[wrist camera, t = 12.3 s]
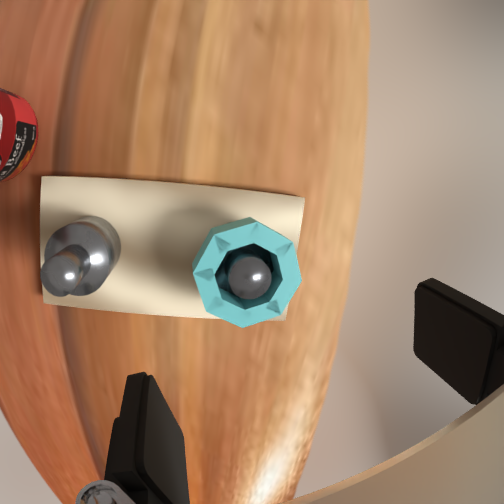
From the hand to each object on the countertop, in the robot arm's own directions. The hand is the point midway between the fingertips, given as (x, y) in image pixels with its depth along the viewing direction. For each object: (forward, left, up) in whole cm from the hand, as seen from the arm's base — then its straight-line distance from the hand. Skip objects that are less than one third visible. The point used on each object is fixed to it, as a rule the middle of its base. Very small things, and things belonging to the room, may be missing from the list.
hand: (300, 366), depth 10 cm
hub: (+1, +1, -17) cm, 17 cm away
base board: (+1, -5, -19) cm, 19 cm away
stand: (+1, -11, -17) cm, 20 cm away
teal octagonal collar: (+1, +1, -15) cm, 15 cm away
